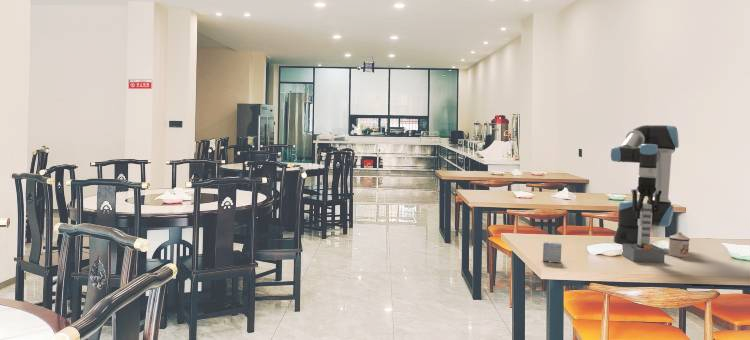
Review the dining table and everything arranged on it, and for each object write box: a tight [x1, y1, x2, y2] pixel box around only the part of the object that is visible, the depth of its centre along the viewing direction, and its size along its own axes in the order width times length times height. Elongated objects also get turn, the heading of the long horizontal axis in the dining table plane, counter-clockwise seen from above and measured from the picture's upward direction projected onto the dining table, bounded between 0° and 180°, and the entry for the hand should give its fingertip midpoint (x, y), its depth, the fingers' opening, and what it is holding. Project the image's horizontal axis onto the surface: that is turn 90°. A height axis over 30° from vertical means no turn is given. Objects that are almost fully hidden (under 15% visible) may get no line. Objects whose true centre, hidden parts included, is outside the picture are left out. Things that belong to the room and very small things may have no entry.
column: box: [637, 202, 652, 246], centre depth 278 cm, size 5×4×20 cm
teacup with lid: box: [668, 231, 690, 258], centre depth 291 cm, size 12×9×12 cm
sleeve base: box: [621, 243, 666, 264], centre depth 280 cm, size 14×14×8 cm
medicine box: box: [542, 241, 562, 264], centre depth 269 cm, size 8×4×9 cm, turn 71°
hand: (644, 225), depth 279 cm, fingers closed on column, 4 cm apart
